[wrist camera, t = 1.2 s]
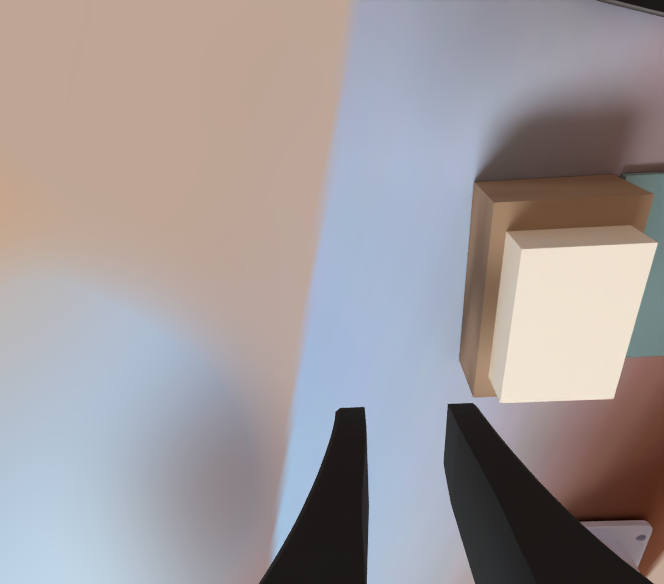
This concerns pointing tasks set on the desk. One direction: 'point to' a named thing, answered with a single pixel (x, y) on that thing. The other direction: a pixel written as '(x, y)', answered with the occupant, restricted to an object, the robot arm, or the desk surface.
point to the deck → (529, 214)
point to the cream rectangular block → (567, 311)
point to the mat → (651, 274)
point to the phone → (640, 5)
